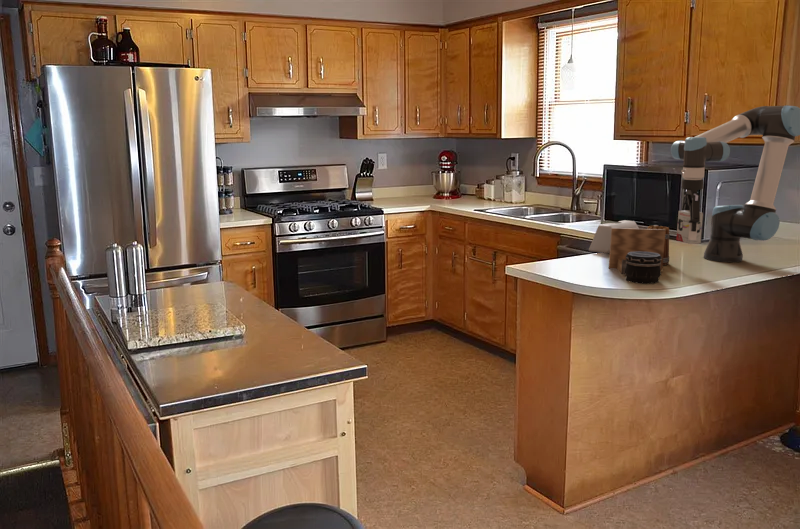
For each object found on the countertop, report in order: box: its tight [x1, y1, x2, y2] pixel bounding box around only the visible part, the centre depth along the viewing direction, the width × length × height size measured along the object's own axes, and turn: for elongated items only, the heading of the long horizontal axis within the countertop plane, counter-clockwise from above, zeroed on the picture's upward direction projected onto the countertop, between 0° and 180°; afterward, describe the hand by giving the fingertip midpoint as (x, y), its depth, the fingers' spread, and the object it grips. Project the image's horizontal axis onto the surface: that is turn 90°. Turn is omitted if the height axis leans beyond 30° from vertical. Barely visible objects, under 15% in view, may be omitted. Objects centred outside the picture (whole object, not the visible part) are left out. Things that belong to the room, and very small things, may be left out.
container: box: [624, 251, 662, 285], centre depth 259 cm, size 13×13×10 cm
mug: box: [646, 224, 671, 267], centre depth 294 cm, size 16×11×15 cm
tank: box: [588, 219, 640, 255], centre depth 321 cm, size 25×16×12 cm, turn 135°
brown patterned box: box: [608, 228, 666, 275], centre depth 274 cm, size 20×11×16 cm, turn 83°
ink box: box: [675, 210, 704, 245], centre depth 272 cm, size 9×5×12 cm, turn 16°
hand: (688, 237), depth 273 cm, fingers closed on ink box, 9 cm apart
